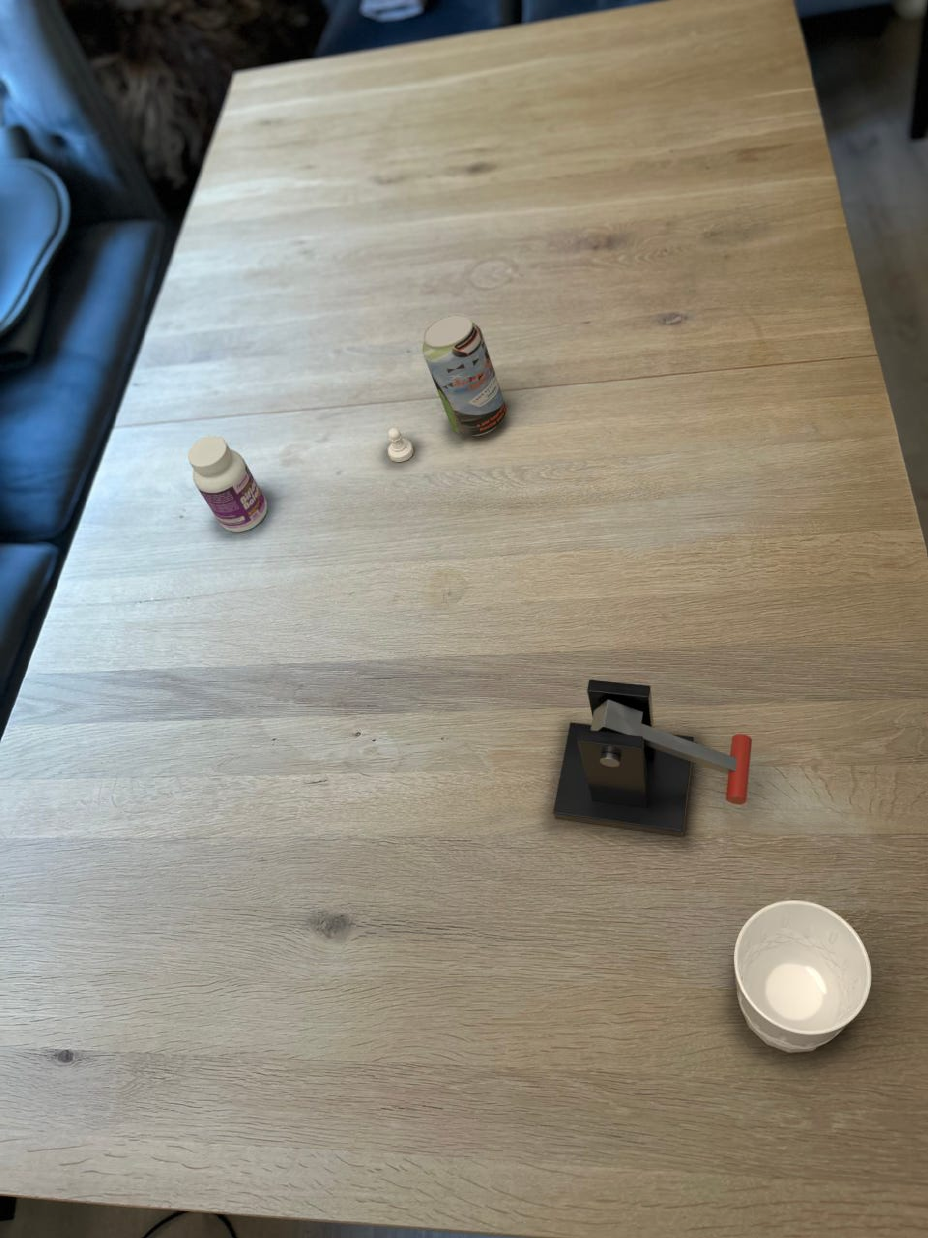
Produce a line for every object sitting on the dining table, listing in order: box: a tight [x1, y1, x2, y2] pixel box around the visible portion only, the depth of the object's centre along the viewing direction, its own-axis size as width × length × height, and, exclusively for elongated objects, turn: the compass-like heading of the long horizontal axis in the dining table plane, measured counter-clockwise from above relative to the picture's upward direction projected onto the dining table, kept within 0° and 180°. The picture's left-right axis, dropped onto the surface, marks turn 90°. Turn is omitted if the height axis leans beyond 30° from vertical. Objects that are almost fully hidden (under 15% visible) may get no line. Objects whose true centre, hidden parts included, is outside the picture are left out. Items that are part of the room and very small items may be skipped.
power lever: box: [590, 699, 753, 805], centre depth 72 cm, size 12×5×2 cm, turn 77°
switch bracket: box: [552, 679, 695, 838], centre depth 74 cm, size 10×8×12 cm
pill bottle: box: [187, 435, 268, 533], centre depth 99 cm, size 5×5×10 cm
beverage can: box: [422, 313, 508, 437], centre depth 99 cm, size 6×7×12 cm
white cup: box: [733, 899, 872, 1054], centre depth 64 cm, size 8×8×10 cm
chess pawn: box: [387, 427, 414, 463], centre depth 102 cm, size 3×3×4 cm
